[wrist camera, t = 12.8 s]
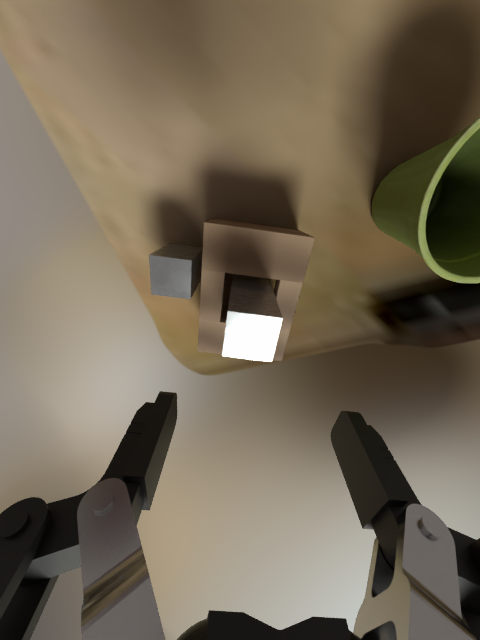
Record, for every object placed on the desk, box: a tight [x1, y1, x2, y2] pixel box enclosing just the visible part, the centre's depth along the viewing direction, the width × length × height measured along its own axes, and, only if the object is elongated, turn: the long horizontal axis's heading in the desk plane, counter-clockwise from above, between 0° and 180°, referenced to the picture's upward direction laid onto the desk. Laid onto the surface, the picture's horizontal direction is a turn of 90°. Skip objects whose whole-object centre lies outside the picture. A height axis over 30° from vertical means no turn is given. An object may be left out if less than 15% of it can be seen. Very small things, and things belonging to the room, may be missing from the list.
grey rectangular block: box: [149, 243, 203, 299], centre depth 25 cm, size 4×4×7 cm
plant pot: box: [372, 117, 480, 283], centre depth 20 cm, size 12×12×11 cm
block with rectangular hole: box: [198, 218, 315, 361], centre depth 26 cm, size 14×10×7 cm
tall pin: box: [222, 274, 283, 362], centre depth 23 cm, size 4×4×14 cm
